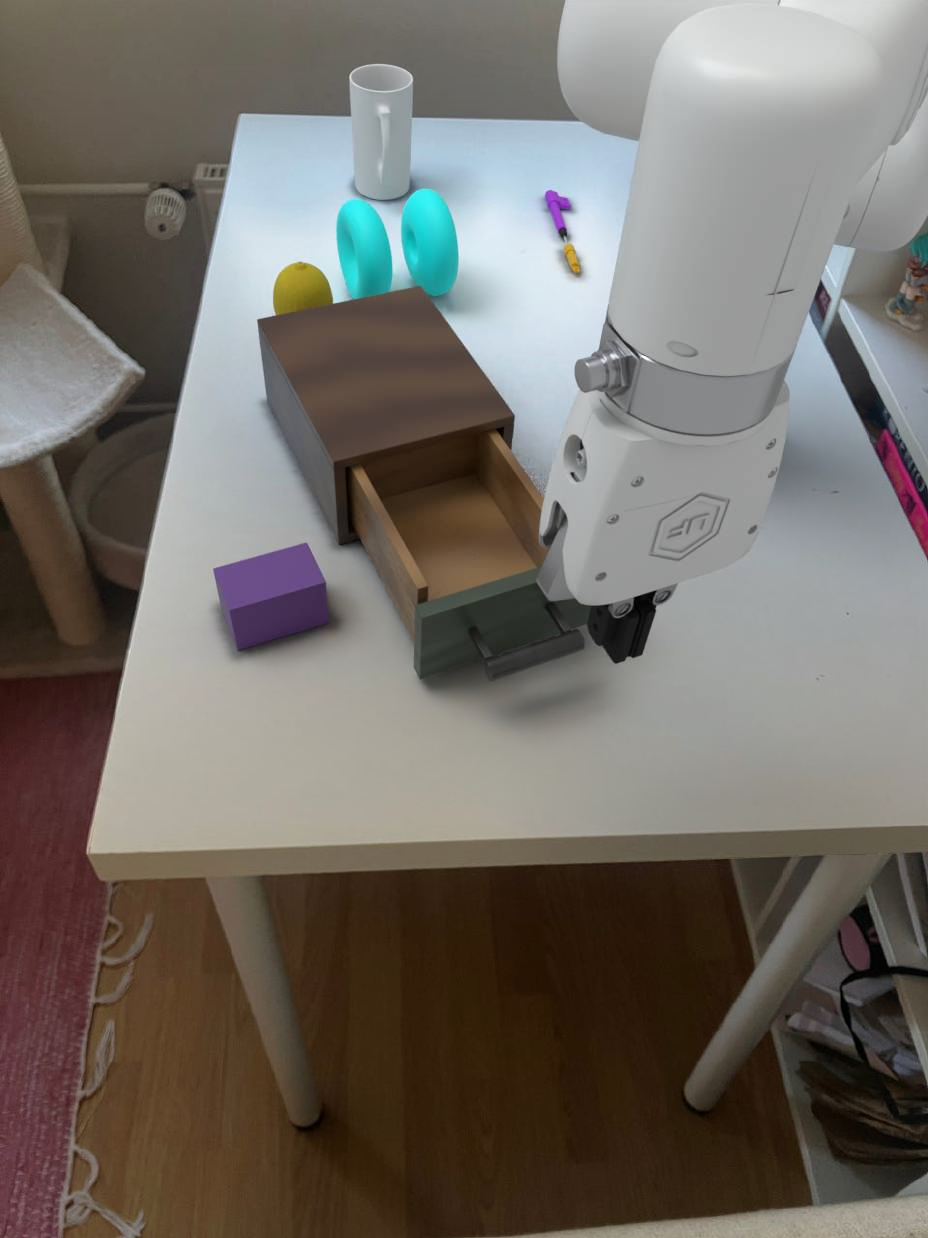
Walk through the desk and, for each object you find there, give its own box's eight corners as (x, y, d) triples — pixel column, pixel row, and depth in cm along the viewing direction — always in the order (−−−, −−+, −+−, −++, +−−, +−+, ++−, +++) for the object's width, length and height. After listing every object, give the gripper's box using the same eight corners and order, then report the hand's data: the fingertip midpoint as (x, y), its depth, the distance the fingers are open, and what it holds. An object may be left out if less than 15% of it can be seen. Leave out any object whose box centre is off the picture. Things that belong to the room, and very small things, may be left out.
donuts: (460, 312, 101) (465, 218, 93) (365, 329, 98) (362, 234, 90) (425, 259, 106) (428, 167, 99) (335, 275, 104) (330, 181, 96)
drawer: (617, 666, 72) (634, 605, 67) (444, 727, 68) (448, 666, 63) (488, 473, 84) (494, 407, 79) (334, 514, 80) (330, 448, 75)
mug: (351, 172, 117) (347, 63, 108) (408, 171, 118) (409, 63, 109) (356, 217, 111) (352, 106, 102) (416, 216, 112) (418, 105, 102)
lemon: (325, 359, 95) (320, 284, 88) (269, 349, 95) (260, 274, 89) (341, 326, 98) (338, 251, 92) (287, 317, 99) (280, 241, 92)
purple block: (310, 583, 77) (306, 541, 73) (329, 622, 75) (326, 581, 71) (221, 609, 75) (212, 568, 71) (237, 650, 72) (229, 610, 69)
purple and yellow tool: (542, 196, 115) (569, 275, 106) (546, 186, 115) (573, 265, 105) (563, 201, 116) (592, 280, 106) (567, 191, 115) (597, 270, 106)
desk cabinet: (505, 498, 84) (515, 415, 77) (338, 545, 80) (333, 461, 73) (419, 367, 95) (421, 284, 88) (267, 403, 90) (256, 318, 83)
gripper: (574, 459, 36) (523, 738, 51) (894, 374, 41) (765, 651, 55) (486, 344, 41) (461, 630, 55) (785, 278, 45) (691, 558, 59)
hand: (614, 640), depth 55 cm, fingers closed
